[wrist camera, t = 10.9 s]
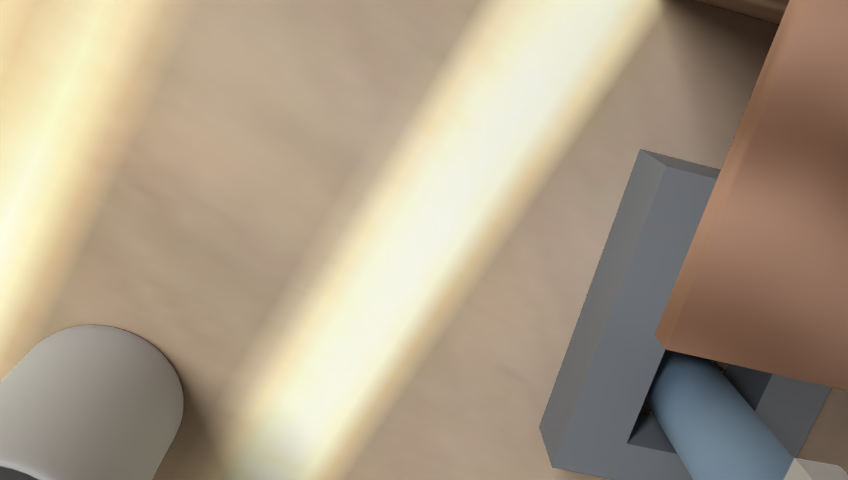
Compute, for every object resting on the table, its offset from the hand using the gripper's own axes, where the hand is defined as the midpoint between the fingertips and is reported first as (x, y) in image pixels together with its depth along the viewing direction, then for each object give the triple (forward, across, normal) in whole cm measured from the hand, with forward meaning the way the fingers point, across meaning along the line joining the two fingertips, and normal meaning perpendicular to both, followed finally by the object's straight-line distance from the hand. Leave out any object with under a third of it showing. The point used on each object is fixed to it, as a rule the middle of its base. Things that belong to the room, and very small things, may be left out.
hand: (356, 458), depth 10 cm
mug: (+24, -13, -19) cm, 33 cm away
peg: (+24, +18, -10) cm, 31 cm away
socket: (+24, +18, -7) cm, 31 cm away
